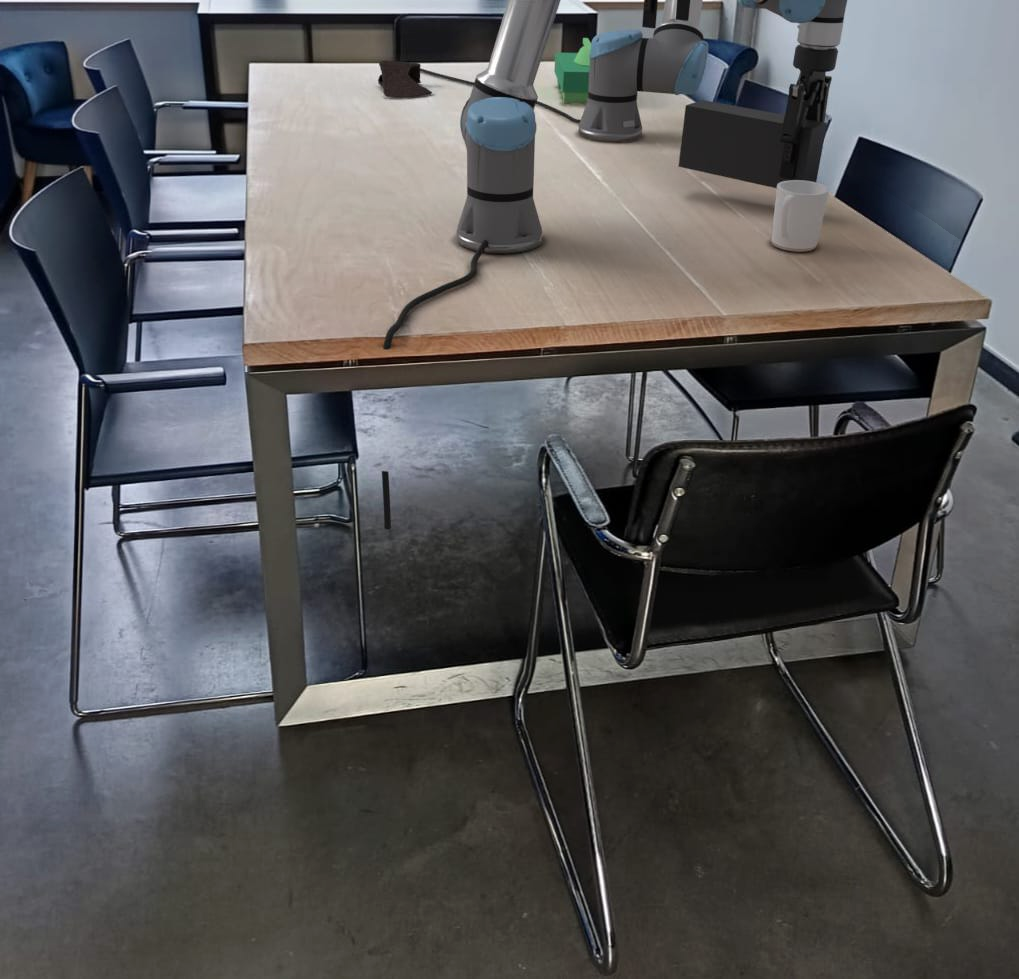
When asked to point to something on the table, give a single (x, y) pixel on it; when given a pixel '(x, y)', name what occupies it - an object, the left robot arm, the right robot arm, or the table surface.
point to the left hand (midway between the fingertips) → (795, 173)
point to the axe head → (401, 79)
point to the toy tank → (574, 74)
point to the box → (745, 144)
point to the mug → (798, 215)
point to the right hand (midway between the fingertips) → (665, 23)
